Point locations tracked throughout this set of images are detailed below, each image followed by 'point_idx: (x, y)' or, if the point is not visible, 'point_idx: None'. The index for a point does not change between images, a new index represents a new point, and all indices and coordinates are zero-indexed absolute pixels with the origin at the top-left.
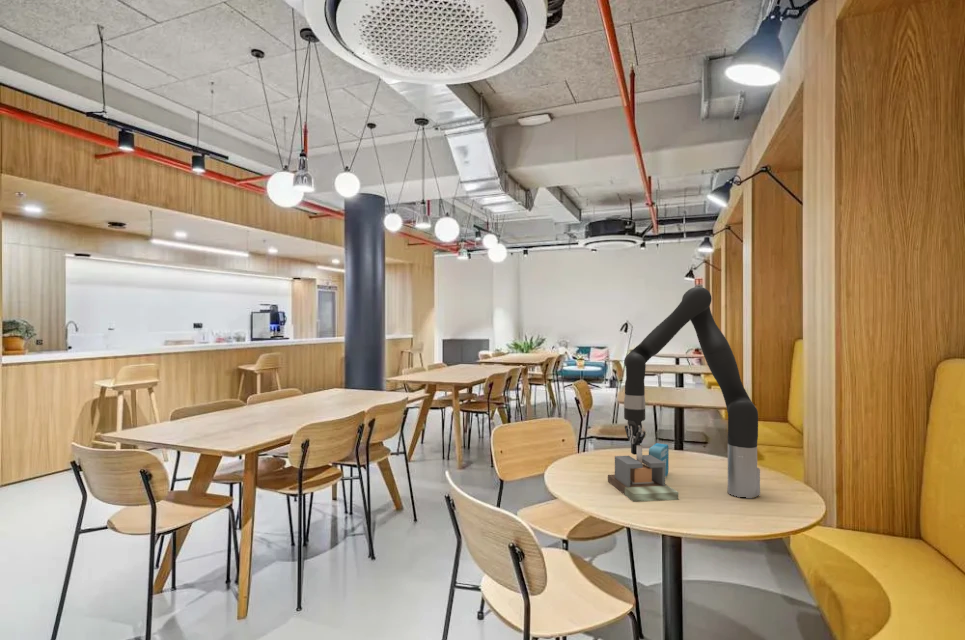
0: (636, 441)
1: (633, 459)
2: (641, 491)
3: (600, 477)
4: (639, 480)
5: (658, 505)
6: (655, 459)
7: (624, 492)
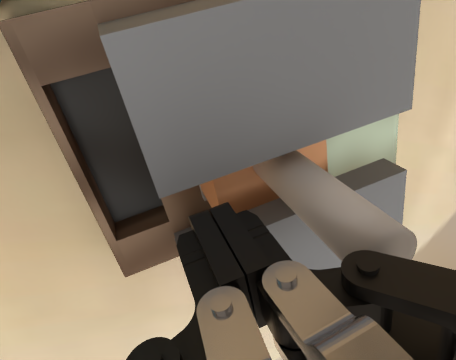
0: (411, 322)
1: (300, 225)
2: (372, 135)
3: (56, 289)
4: None
5: (420, 68)
6: (304, 27)
7: None
